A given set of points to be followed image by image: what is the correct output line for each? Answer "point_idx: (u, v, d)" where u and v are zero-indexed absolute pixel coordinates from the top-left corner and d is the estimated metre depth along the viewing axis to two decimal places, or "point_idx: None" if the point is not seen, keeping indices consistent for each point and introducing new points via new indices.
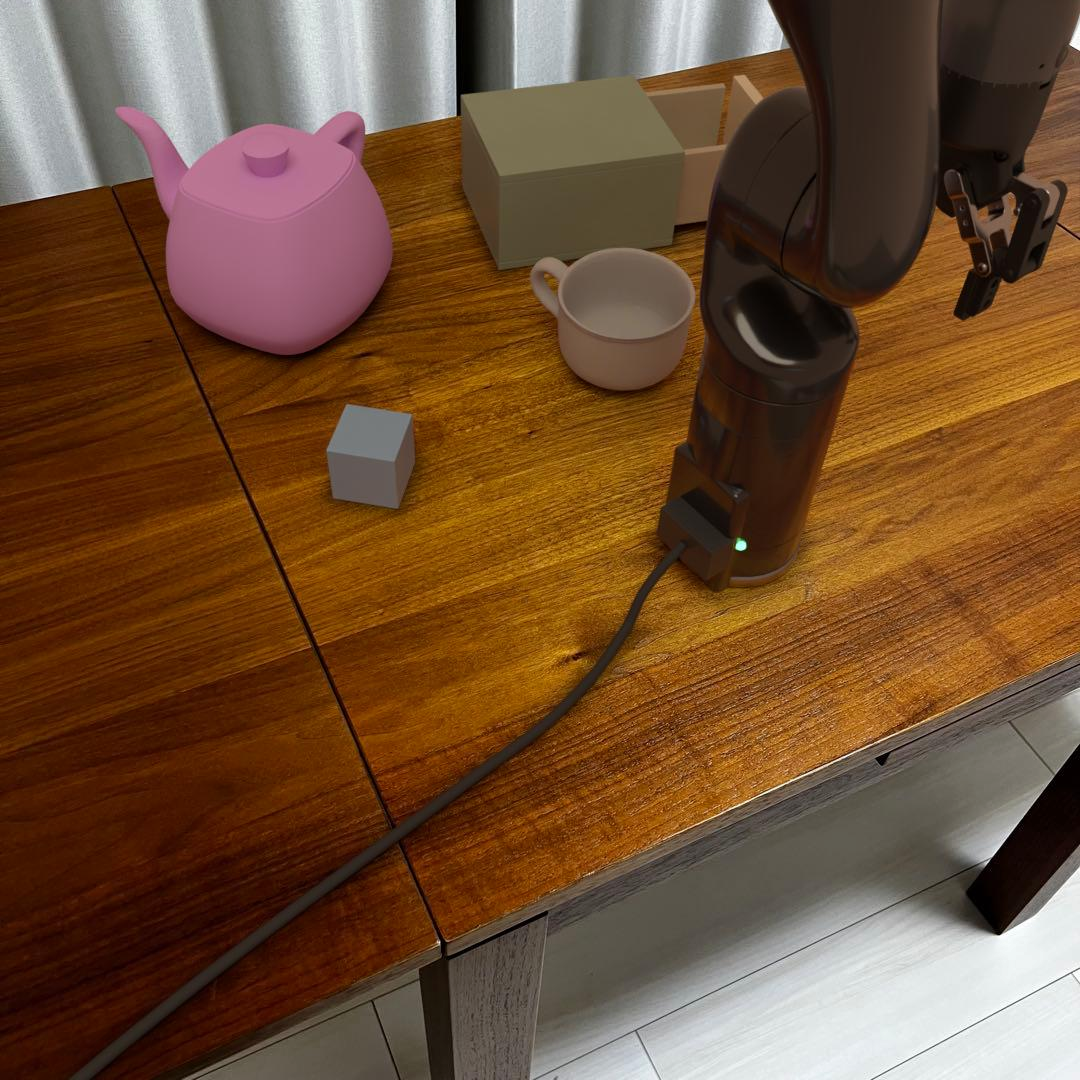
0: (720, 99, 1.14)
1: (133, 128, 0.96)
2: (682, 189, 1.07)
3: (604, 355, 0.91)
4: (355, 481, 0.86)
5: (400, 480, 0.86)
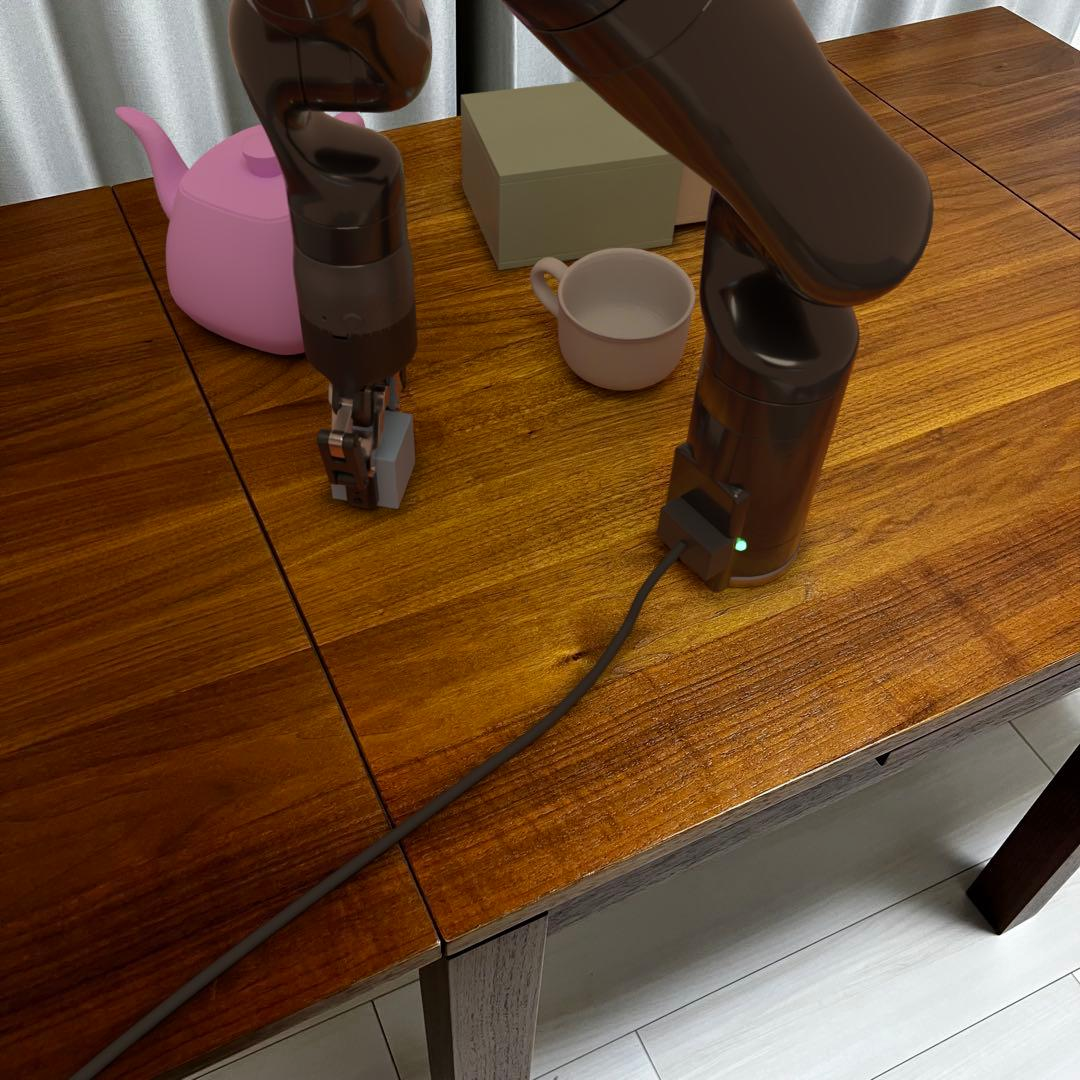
0: None
1: (133, 128, 0.96)
2: (682, 189, 1.07)
3: (604, 355, 0.91)
4: None
5: (400, 480, 0.86)
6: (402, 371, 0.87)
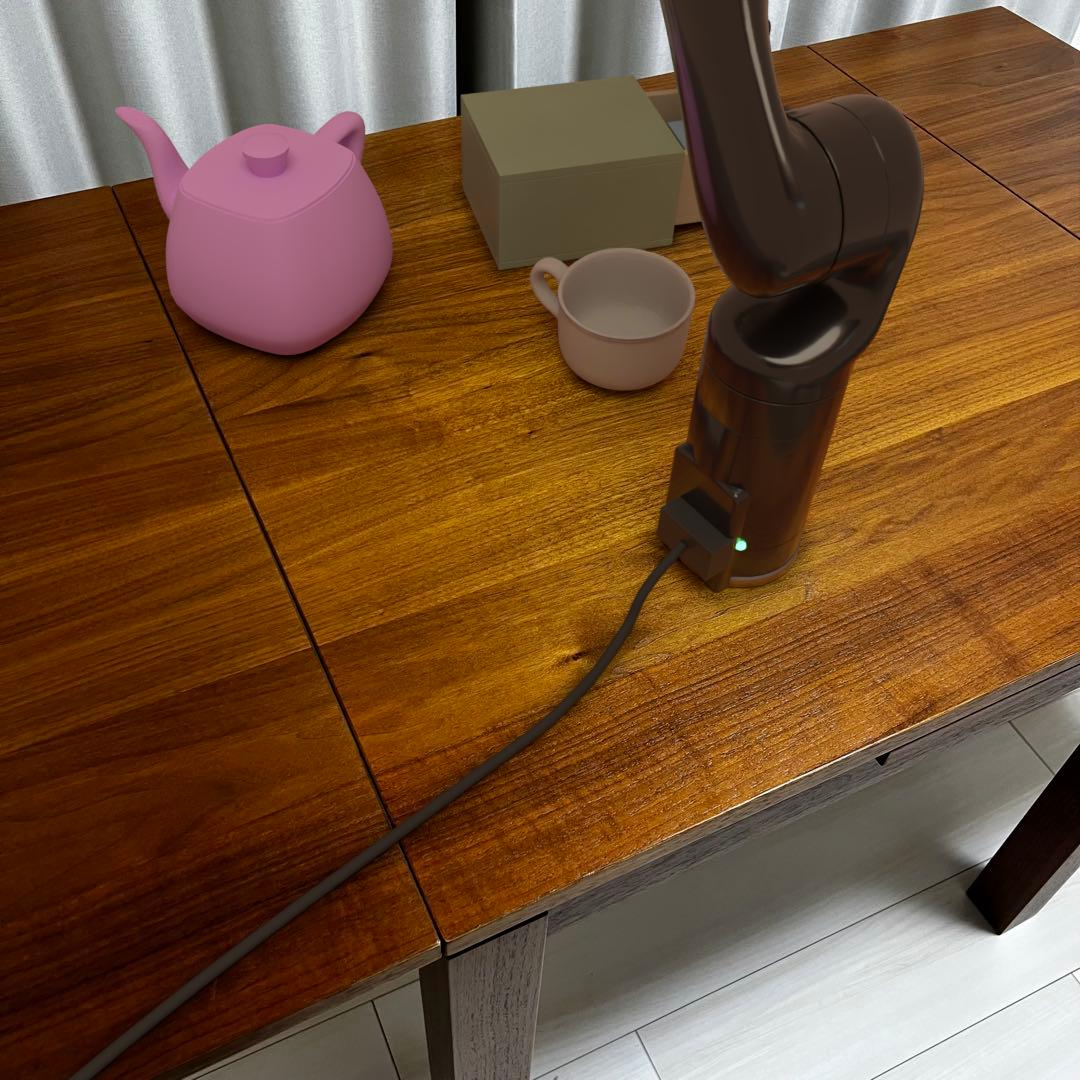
0: None
1: (133, 128, 0.96)
2: (682, 189, 1.07)
3: (604, 355, 0.91)
4: None
5: None
6: None
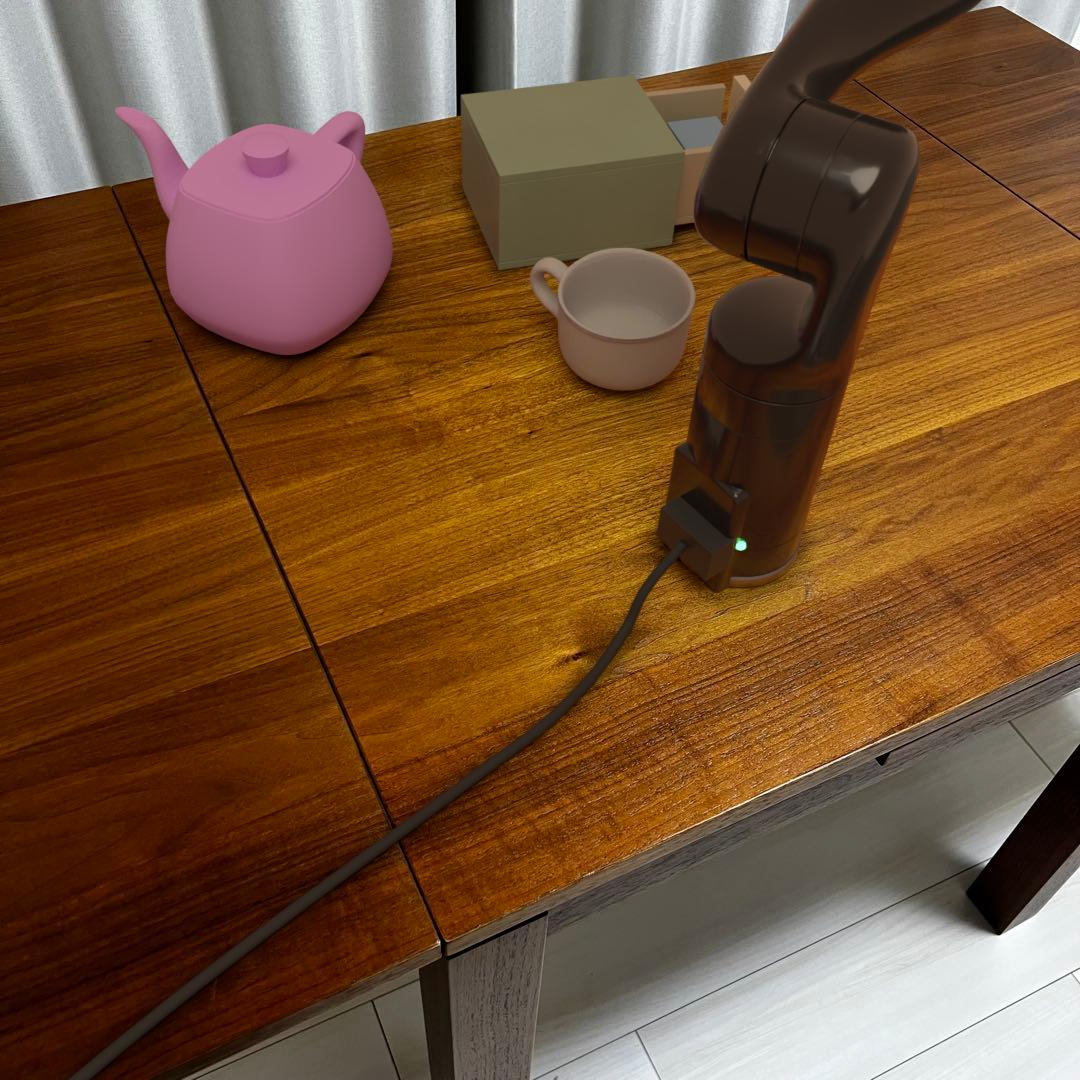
0: (720, 99, 1.14)
1: (133, 128, 0.96)
2: (682, 189, 1.07)
3: (604, 355, 0.91)
4: None
5: None
6: None
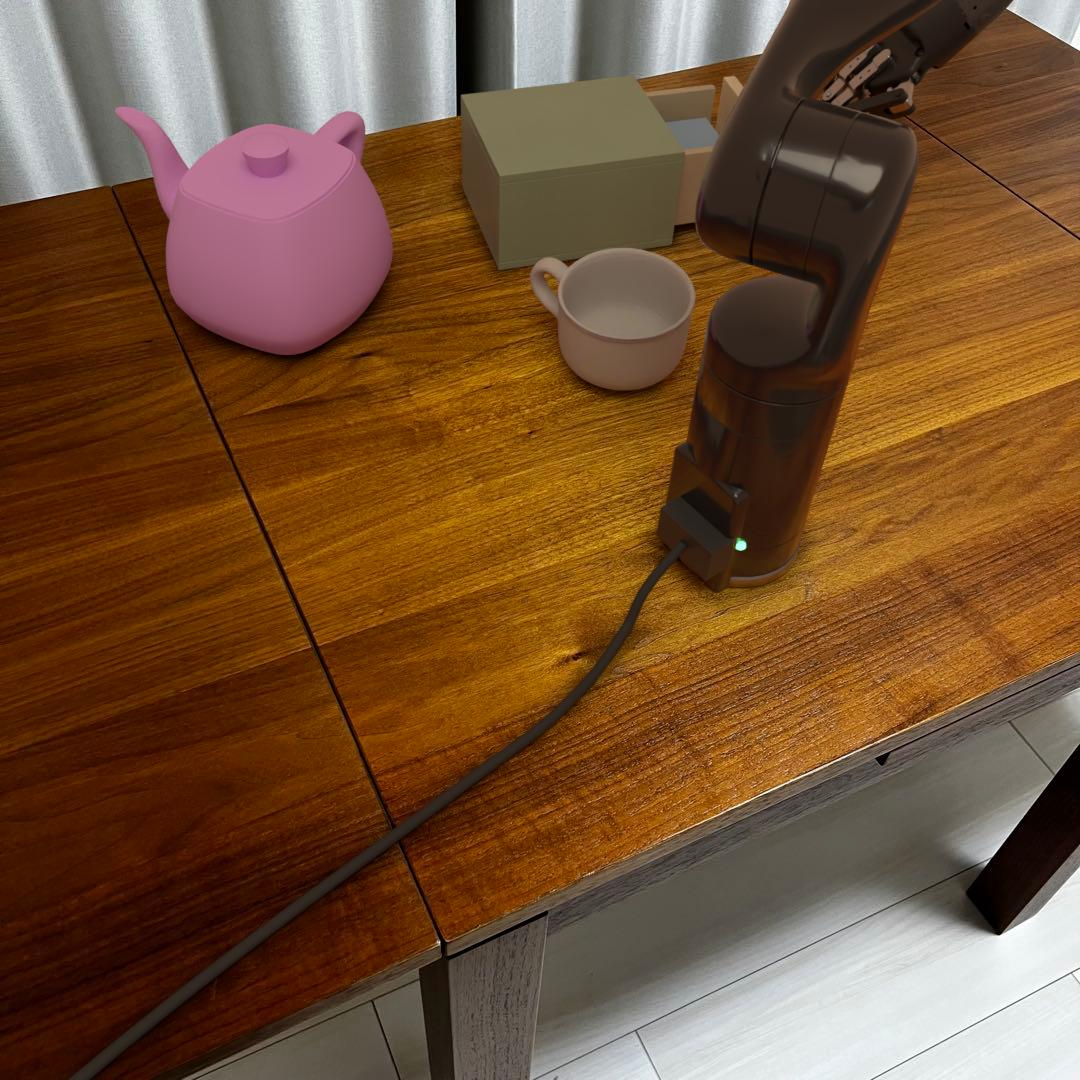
0: (710, 101, 1.13)
1: (133, 128, 0.96)
2: None
3: (604, 355, 0.91)
4: None
5: None
6: None
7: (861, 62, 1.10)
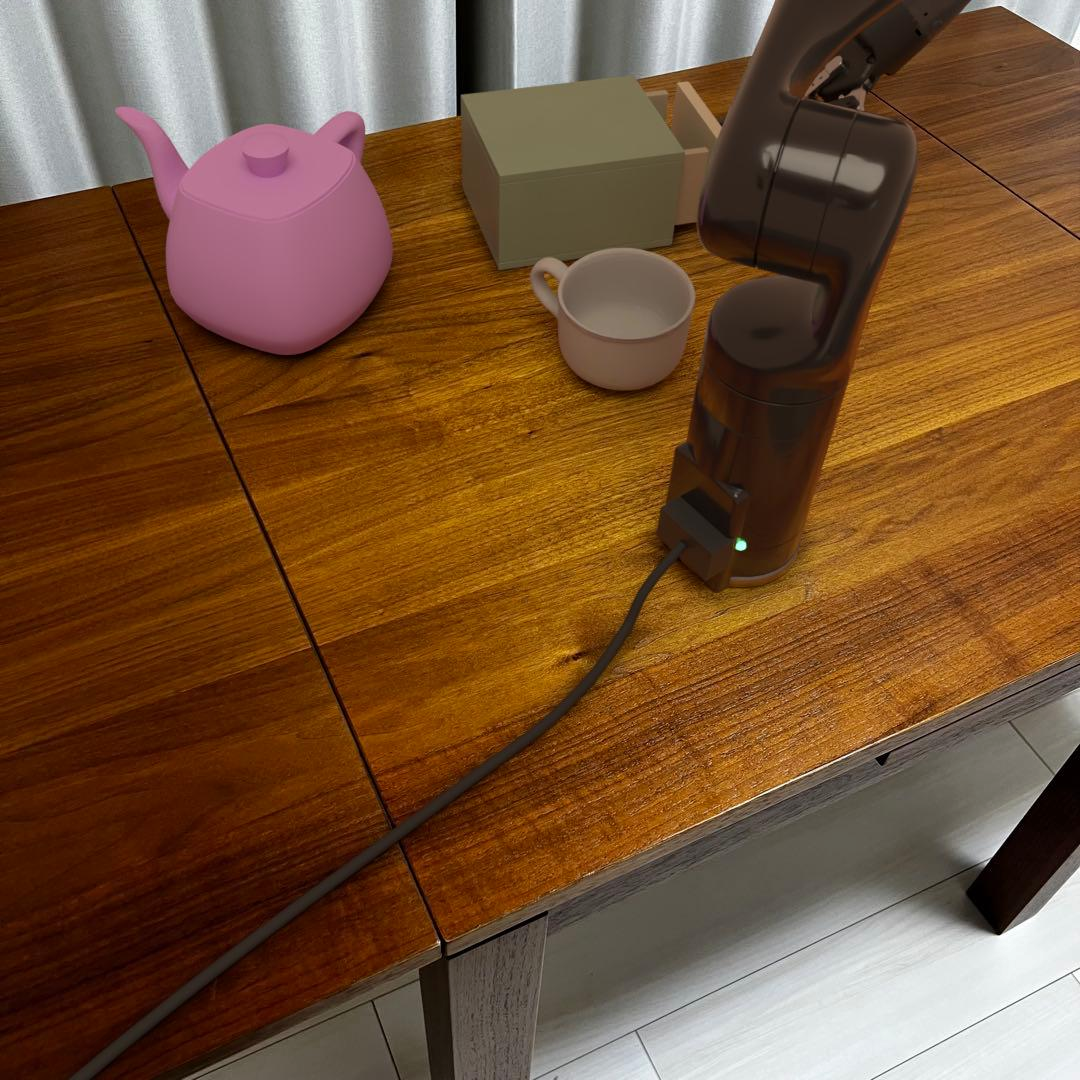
0: (664, 106, 1.12)
1: (133, 128, 0.96)
2: None
3: (604, 355, 0.91)
4: None
5: None
6: None
7: None
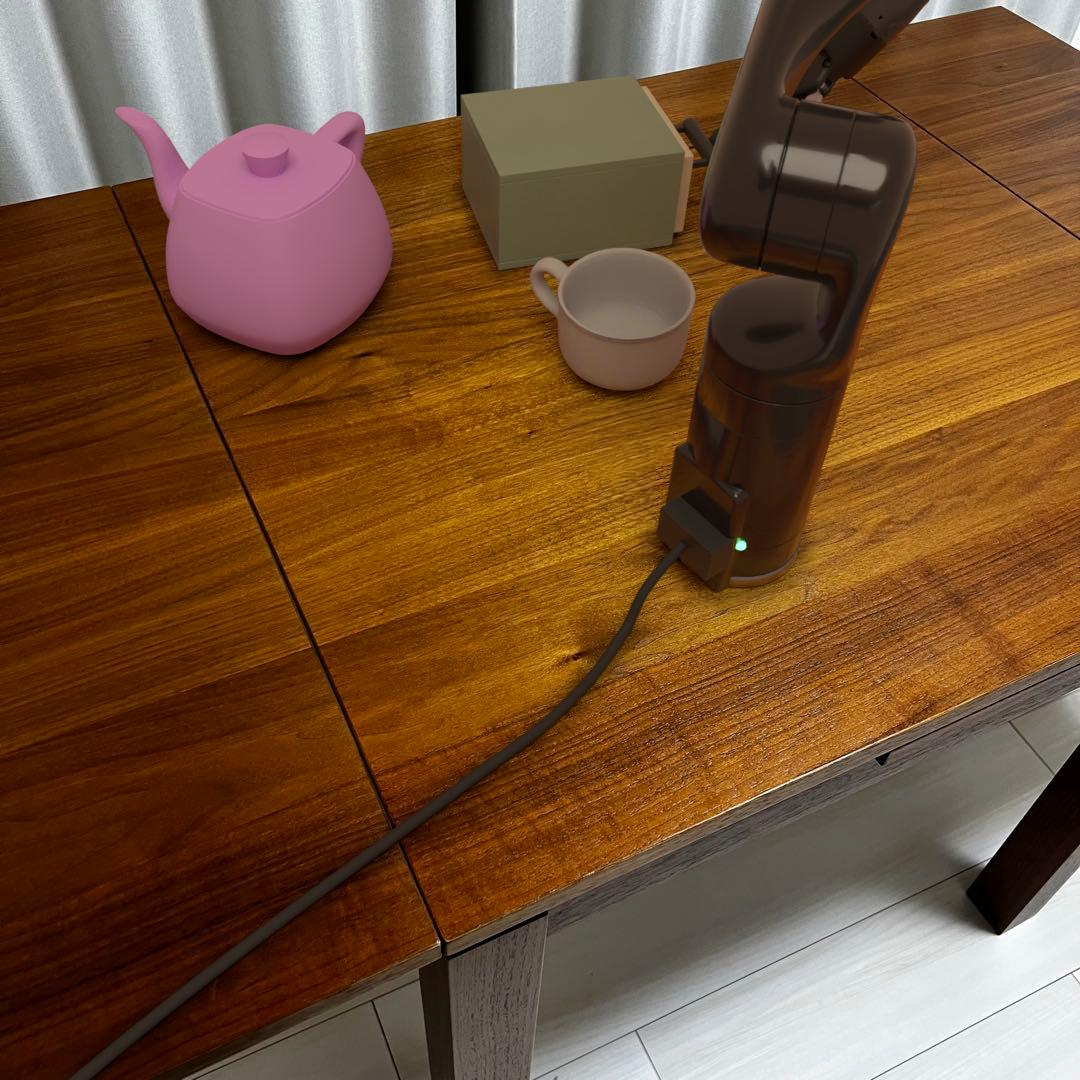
0: None
1: (133, 128, 0.96)
2: None
3: (604, 355, 0.91)
4: None
5: None
6: None
7: None
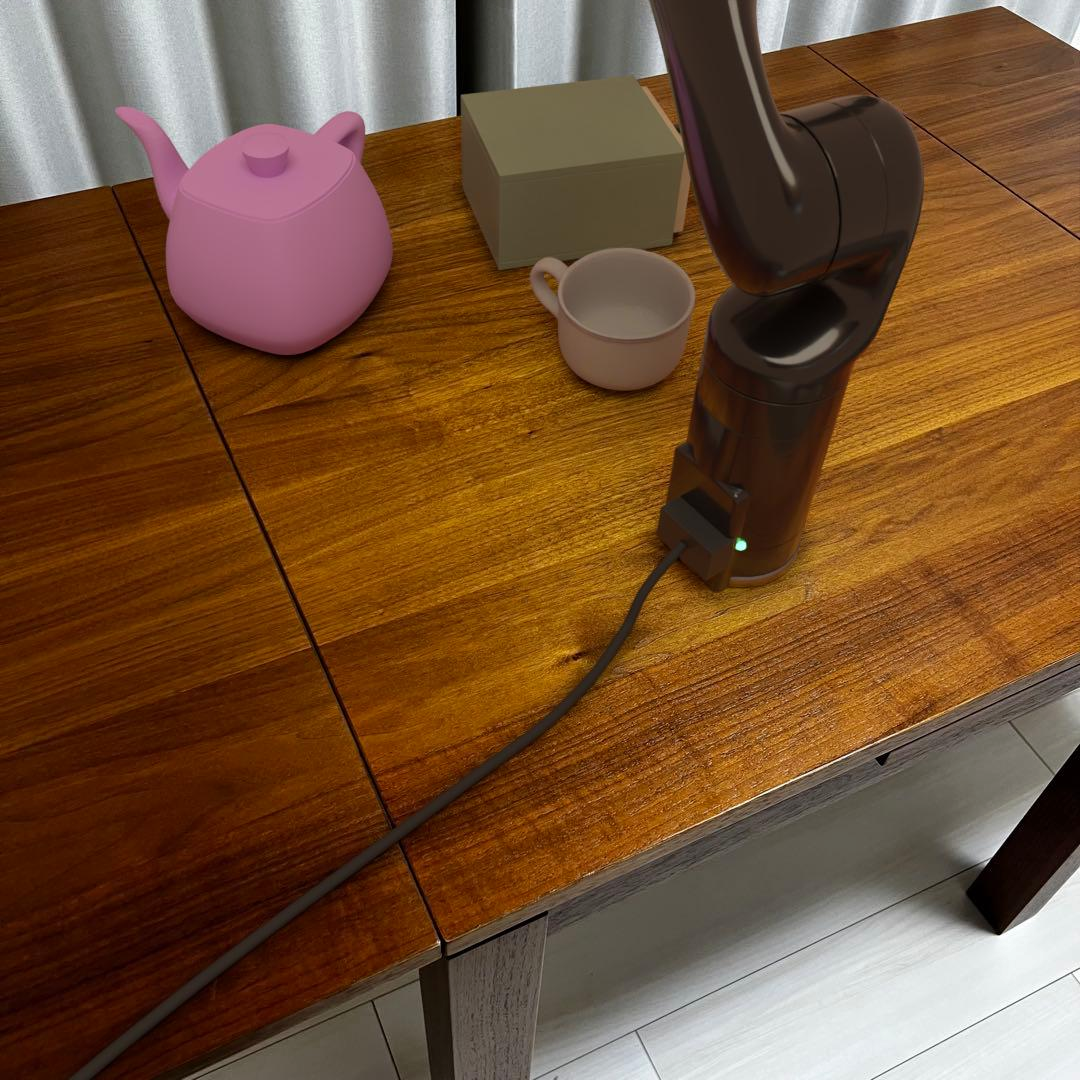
0: None
1: (133, 128, 0.96)
2: None
3: (604, 355, 0.91)
4: None
5: None
6: None
7: None
